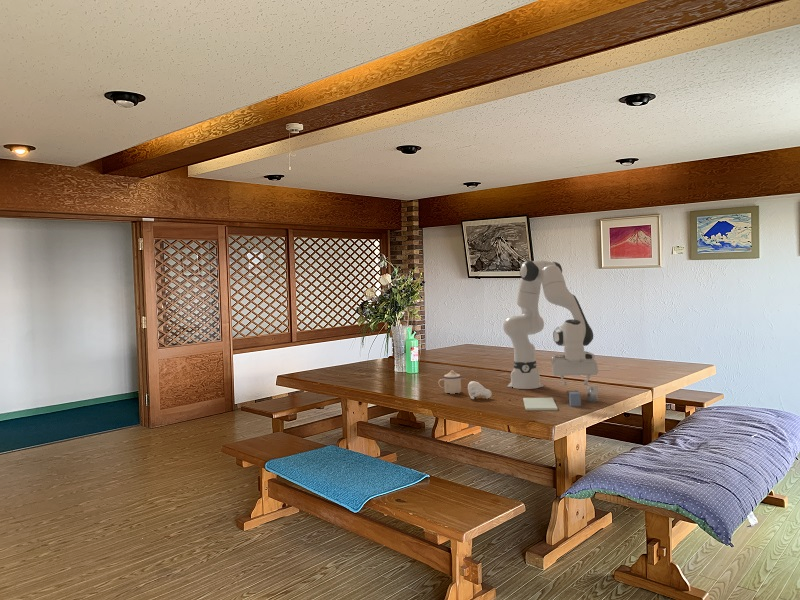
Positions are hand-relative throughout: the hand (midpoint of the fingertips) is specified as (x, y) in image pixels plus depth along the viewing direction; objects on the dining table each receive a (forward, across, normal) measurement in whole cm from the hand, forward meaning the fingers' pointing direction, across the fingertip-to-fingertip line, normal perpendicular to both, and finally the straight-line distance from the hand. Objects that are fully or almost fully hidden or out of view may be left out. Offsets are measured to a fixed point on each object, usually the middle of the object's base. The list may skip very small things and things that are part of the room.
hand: (575, 384), depth 275 cm
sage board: (+9, -16, +1) cm, 19 cm away
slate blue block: (+10, 0, 0) cm, 10 cm away
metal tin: (+10, +9, +8) cm, 15 cm away
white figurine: (+9, -44, +16) cm, 48 cm away
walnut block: (+10, 0, +7) cm, 12 cm away
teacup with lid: (+9, -60, +32) cm, 69 cm away
